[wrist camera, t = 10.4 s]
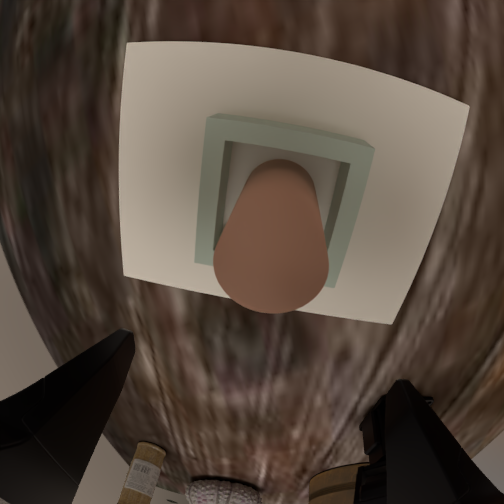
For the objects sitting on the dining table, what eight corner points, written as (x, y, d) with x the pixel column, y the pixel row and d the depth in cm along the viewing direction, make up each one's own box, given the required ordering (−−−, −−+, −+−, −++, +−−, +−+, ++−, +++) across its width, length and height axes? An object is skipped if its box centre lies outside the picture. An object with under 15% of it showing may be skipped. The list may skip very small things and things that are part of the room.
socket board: (461, 104, 14) (491, 111, 11) (388, 315, 22) (398, 348, 19) (134, 44, 15) (104, 39, 12) (129, 268, 23) (108, 295, 20)
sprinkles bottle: (136, 446, 40) (110, 516, 29) (140, 437, 38) (113, 514, 26) (163, 457, 41) (141, 528, 29) (170, 449, 39) (146, 527, 27)
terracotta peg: (322, 166, 17) (342, 227, 10) (307, 231, 19) (312, 321, 12) (249, 153, 17) (218, 203, 10) (240, 218, 19) (209, 302, 12)
